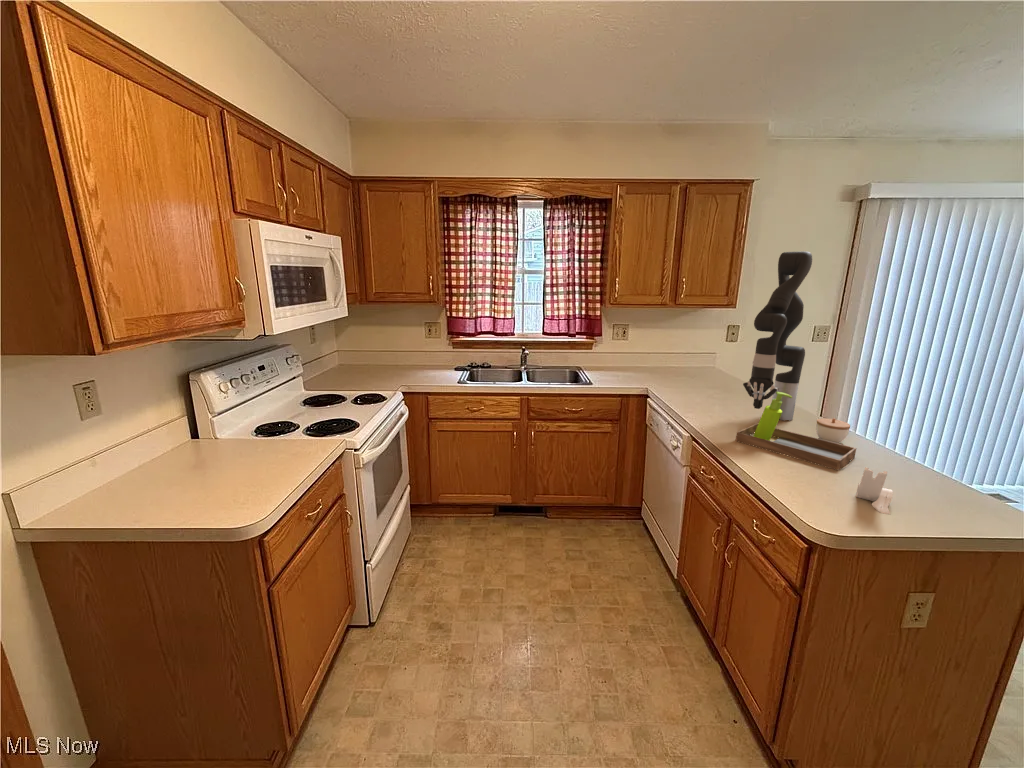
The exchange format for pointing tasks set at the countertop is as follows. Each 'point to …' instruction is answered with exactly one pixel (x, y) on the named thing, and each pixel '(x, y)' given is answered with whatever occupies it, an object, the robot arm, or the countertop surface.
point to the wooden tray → (801, 447)
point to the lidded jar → (832, 430)
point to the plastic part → (875, 490)
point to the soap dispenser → (770, 418)
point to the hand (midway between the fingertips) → (757, 408)
